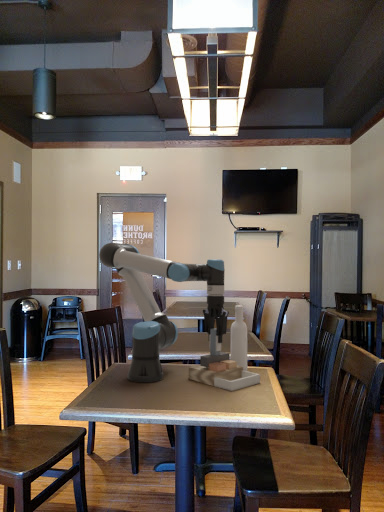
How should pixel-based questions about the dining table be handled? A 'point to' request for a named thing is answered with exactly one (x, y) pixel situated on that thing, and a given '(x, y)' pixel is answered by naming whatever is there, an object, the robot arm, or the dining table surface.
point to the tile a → (217, 366)
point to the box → (238, 381)
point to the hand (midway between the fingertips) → (215, 349)
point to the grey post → (213, 352)
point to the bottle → (239, 339)
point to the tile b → (229, 364)
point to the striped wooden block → (213, 374)
